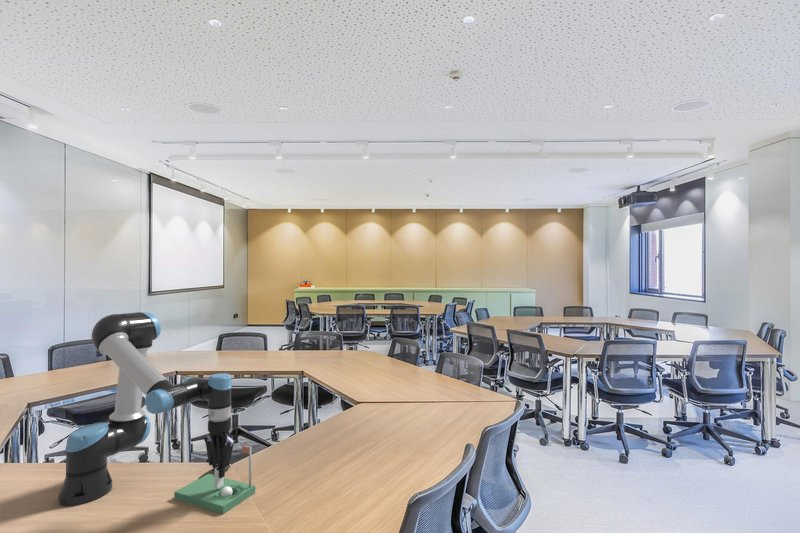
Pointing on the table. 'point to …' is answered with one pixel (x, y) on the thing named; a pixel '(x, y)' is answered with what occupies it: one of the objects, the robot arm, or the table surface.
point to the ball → (226, 492)
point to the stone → (213, 471)
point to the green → (216, 491)
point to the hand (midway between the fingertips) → (218, 486)
